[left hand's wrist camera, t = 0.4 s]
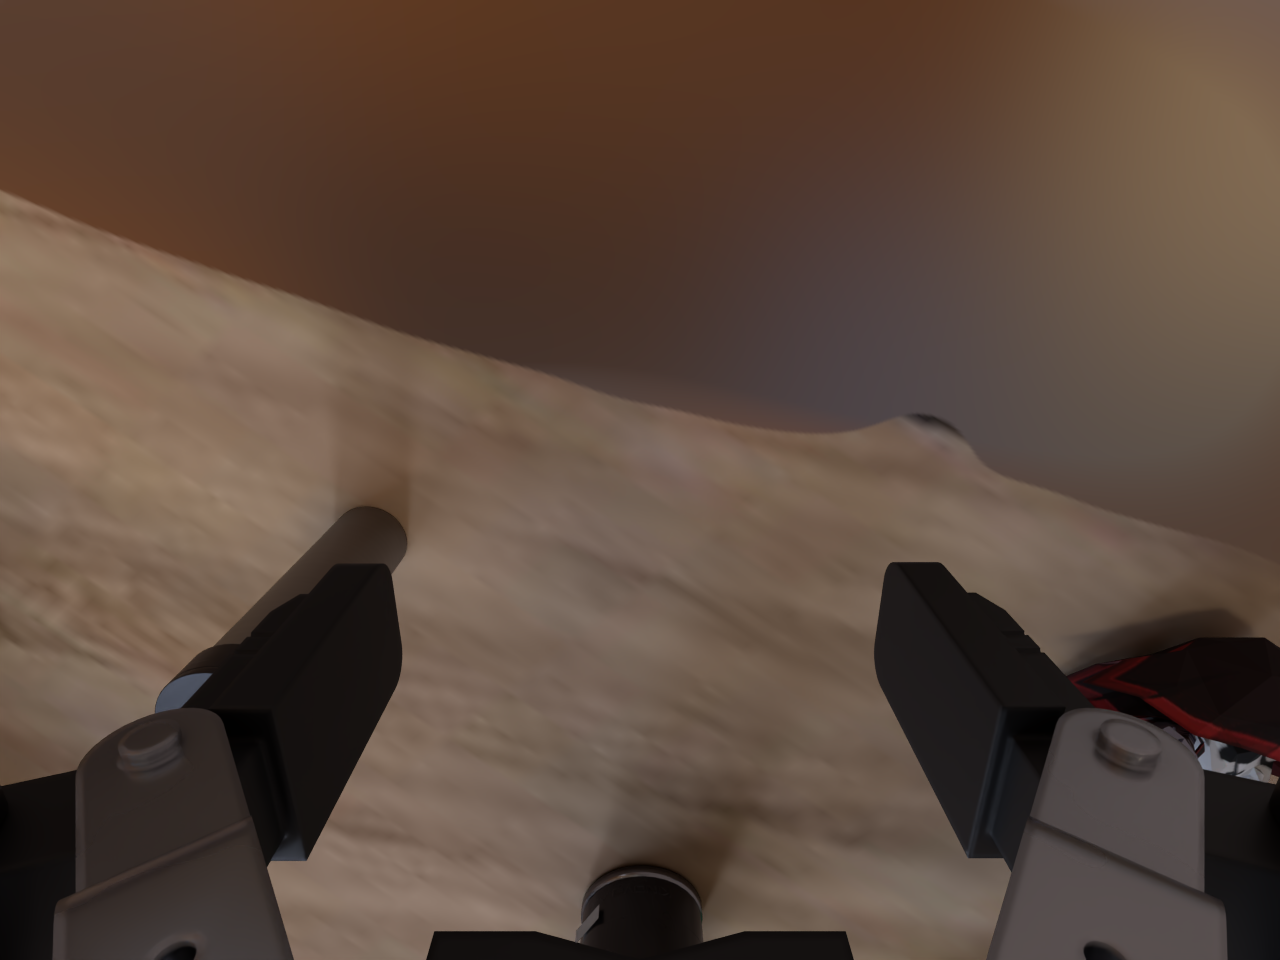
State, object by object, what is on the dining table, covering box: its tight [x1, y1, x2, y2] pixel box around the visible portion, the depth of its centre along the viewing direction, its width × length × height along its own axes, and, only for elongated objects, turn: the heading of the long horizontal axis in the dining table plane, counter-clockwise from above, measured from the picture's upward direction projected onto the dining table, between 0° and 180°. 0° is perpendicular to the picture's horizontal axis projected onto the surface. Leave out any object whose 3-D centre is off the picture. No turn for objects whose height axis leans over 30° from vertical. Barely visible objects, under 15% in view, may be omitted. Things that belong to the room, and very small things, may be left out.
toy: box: [1066, 638, 1280, 783], centre depth 43 cm, size 12×9×15 cm
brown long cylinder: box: [213, 507, 407, 647], centre depth 36 cm, size 4×4×16 cm
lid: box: [155, 644, 240, 713], centre depth 29 cm, size 5×5×2 cm
